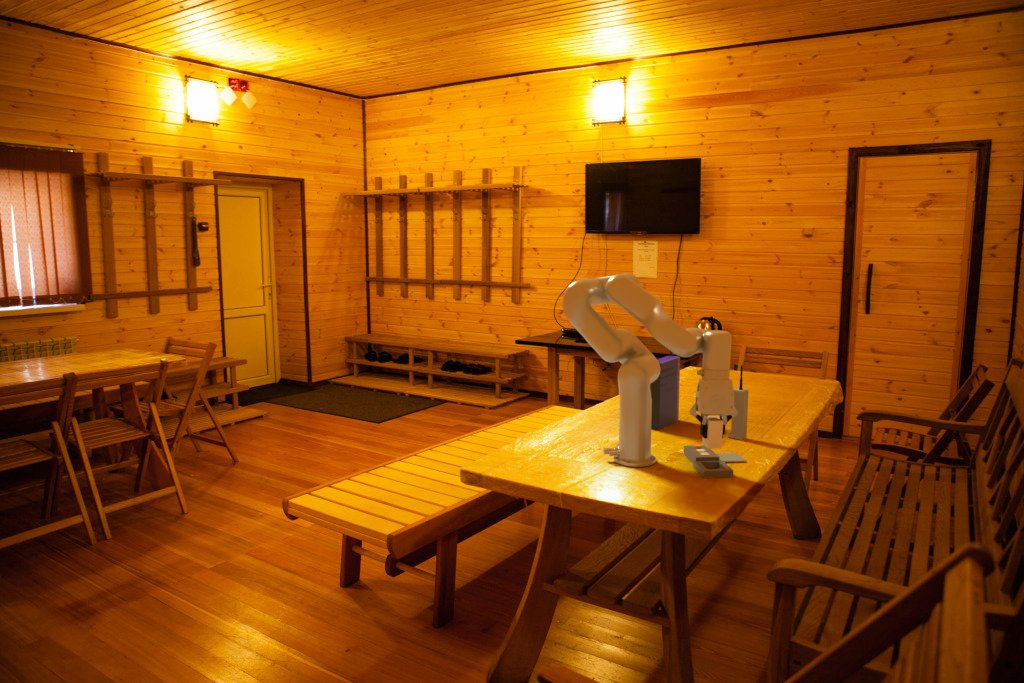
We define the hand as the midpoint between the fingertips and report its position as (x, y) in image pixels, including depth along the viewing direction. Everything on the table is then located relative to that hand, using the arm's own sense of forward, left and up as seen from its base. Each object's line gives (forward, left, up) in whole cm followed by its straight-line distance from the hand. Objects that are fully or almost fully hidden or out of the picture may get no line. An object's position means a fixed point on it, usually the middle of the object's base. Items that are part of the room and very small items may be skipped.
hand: (712, 436), depth 202 cm
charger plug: (0, 0, -3) cm, 3 cm away
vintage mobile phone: (+20, +34, -11) cm, 41 cm away
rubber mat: (+9, +12, -10) cm, 18 cm away
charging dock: (0, +6, -10) cm, 12 cm away
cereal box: (0, +54, -11) cm, 55 cm away
